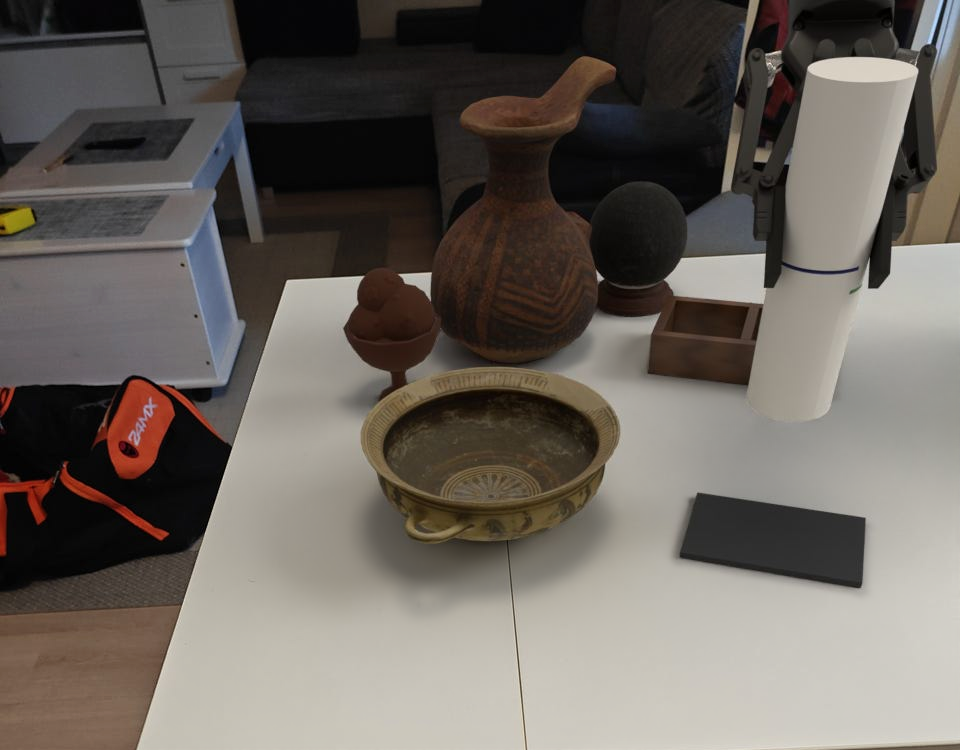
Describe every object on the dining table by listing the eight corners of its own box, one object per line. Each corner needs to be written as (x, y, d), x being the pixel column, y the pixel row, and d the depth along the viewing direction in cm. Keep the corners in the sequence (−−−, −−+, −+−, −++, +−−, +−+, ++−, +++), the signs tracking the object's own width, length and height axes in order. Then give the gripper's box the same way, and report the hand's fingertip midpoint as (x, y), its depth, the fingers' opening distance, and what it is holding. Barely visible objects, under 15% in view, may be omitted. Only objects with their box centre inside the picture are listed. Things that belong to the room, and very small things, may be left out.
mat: (864, 522, 84) (865, 517, 84) (860, 588, 77) (862, 582, 77) (696, 497, 88) (697, 492, 88) (679, 557, 82) (680, 552, 81)
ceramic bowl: (545, 641, 74) (546, 549, 67) (311, 572, 83) (290, 483, 76) (654, 460, 93) (663, 373, 86) (455, 418, 102) (449, 335, 95)
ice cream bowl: (345, 420, 102) (324, 293, 92) (371, 374, 110) (353, 252, 100) (434, 425, 101) (422, 296, 90) (453, 378, 108) (444, 254, 98)
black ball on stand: (684, 282, 126) (697, 168, 115) (675, 322, 117) (689, 203, 106) (593, 277, 128) (597, 166, 118) (577, 316, 119) (581, 199, 109)
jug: (591, 384, 106) (605, 101, 85) (418, 376, 109) (390, 102, 88) (605, 307, 121) (620, 51, 100) (453, 302, 124) (436, 53, 103)
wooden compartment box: (837, 350, 109) (847, 311, 106) (832, 394, 101) (842, 354, 98) (664, 332, 115) (668, 295, 111) (647, 373, 107) (650, 334, 104)
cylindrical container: (730, 391, 79) (786, 65, 61) (798, 374, 80) (871, 52, 63) (776, 429, 74) (851, 87, 56) (847, 410, 75) (942, 72, 58)
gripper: (960, 11, 69) (944, 301, 69) (700, 19, 71) (685, 299, 71) (1005, -67, 61) (987, 259, 61) (713, -55, 64) (696, 258, 64)
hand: (825, 280), depth 66 cm, fingers closed on cylindrical container, 7 cm apart
